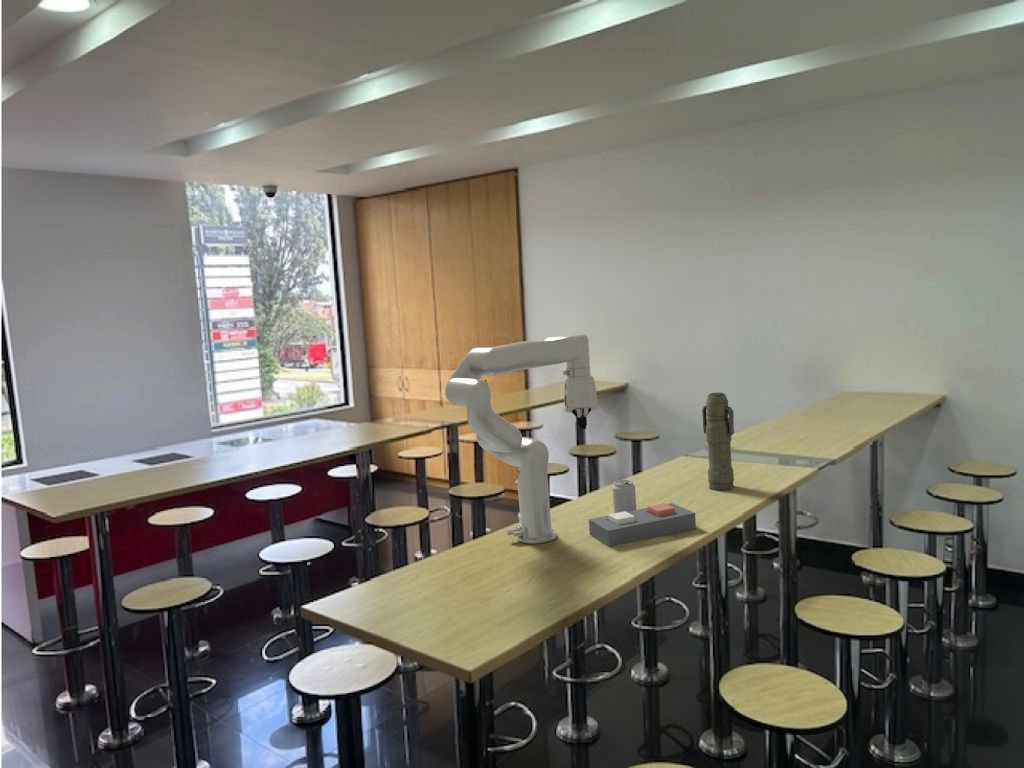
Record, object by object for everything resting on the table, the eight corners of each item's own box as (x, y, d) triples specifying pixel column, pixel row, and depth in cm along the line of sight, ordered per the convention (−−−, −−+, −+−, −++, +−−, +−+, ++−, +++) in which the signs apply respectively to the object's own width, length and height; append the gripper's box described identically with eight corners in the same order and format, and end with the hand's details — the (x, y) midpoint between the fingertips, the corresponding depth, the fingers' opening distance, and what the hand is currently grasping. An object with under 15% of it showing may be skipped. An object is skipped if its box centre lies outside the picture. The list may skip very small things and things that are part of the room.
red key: (658, 523, 221) (657, 511, 221) (648, 518, 227) (647, 506, 226) (675, 520, 223) (674, 507, 223) (665, 515, 229) (664, 503, 228)
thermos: (731, 492, 257) (727, 395, 252) (701, 489, 264) (696, 395, 260) (742, 486, 263) (737, 392, 259) (711, 483, 271) (707, 391, 267)
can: (636, 519, 235) (634, 484, 234) (613, 520, 236) (611, 484, 235) (637, 513, 242) (635, 478, 241) (614, 513, 244) (612, 479, 242)
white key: (617, 532, 217) (617, 519, 216) (608, 527, 222) (607, 514, 222) (635, 528, 218) (634, 516, 218) (626, 523, 224) (625, 511, 224)
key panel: (609, 547, 212) (607, 530, 211) (589, 534, 224) (588, 519, 224) (696, 528, 222) (695, 513, 221) (673, 517, 234) (672, 502, 233)
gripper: (561, 376, 227) (564, 433, 229) (604, 371, 232) (607, 427, 234) (553, 374, 234) (556, 429, 236) (595, 370, 239) (598, 424, 241)
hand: (582, 428), depth 235 cm, fingers closed
